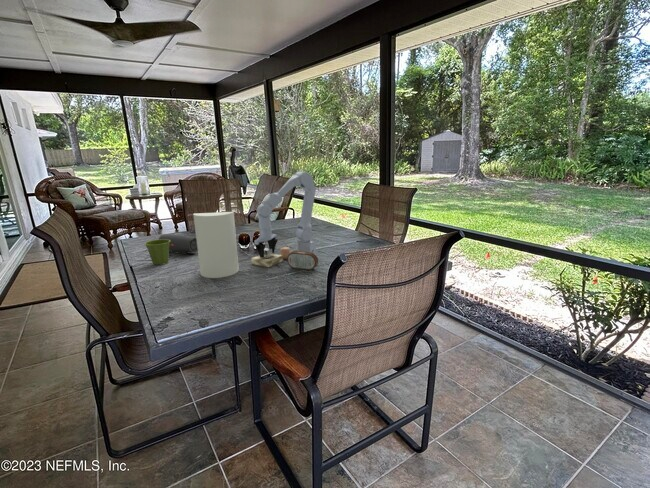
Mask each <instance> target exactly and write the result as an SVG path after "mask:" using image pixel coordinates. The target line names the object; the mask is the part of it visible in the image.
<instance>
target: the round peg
mask: <svg viewBox="0 0 650 488" xmlns="http://www.w3.org/2000/svg"><path fill="white" fill-rule="evenodd" d="M290 253H291V247H288V246H286V247H285V246H284V247H280V255H283V260H287V257H288V255H289V254H290Z"/></svg>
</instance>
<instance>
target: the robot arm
mask: <svg viewBox="0 0 650 488" xmlns="http://www.w3.org/2000/svg"><path fill="white" fill-rule="evenodd" d="M295 187H301V188H302V190H303V191H304V195H303V202H302V209H301V214H300V221H299V222H298V223H297V227H296V229H295V231H294V233H295V236H296V237H297V239H296V245H297V246H296V248H297V249H296V251H303V252H312V253H314V254H315V255H316V256H317V257H318V255H317V245H316V242H315V241H312V238H313V231H312V230H313V227H312V224H311V222H312V221H311V220H312V216H313V215H312V214H313V209H314V204H315V196H316V186H315V183H314V177H313V176H312V175H311V173H309V172H307V171H304V172H303V171H296V172H295V173H294V174H293V175H292V176H290V178H289V179H288V180H287V181H286V182H285V183H284V185H282V187H281V188H280V189H278V190H277V192H272V193H269V195H268V196H267V198H266V200H263V201H262V203H261V204H258V206H257V207H256V208H257V209H256V213H257V215H258V226H259V227H258V229H259V230H258V231H259V236H258V238H257V239H255V240H254V243H253V244H254V247H255V249H256V250H257V253H258V255H260V257H264V248H266V244H265V242H267V244H268V248H270V249H272V254H275V249H276V246H277V243H278V237H277V236H278V235H277V234H276V233H272V221H271V219H272V218H271V215H272V213H273V211H274V209H276V207H278V205H279V204H280V203H282V200H283V197H284V196H286V194H288V192H290V191H291V190H292V189H293V188H295Z"/></svg>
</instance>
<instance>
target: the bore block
mask: <svg viewBox="0 0 650 488" xmlns="http://www.w3.org/2000/svg"><path fill="white" fill-rule="evenodd" d="M272 256H273V257H272V258H269V259H265V258H261V257H260V255H259V254H258V255H257V256H254V257H253V256H252V257H251V259H250V260H251V264H252V265H256V266H261V267H265V268H270V267H273V266H276V265H277V264H280V263H282V262H283V261H284V259H283V255H281V254H276V253H272Z"/></svg>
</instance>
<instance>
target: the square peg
mask: <svg viewBox="0 0 650 488" xmlns="http://www.w3.org/2000/svg"><path fill="white" fill-rule="evenodd" d="M272 254H273V253H272V249H270V248H269V247H265V248H264V257H261V258H265V259H269V258H272V257H273V256H272Z"/></svg>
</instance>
